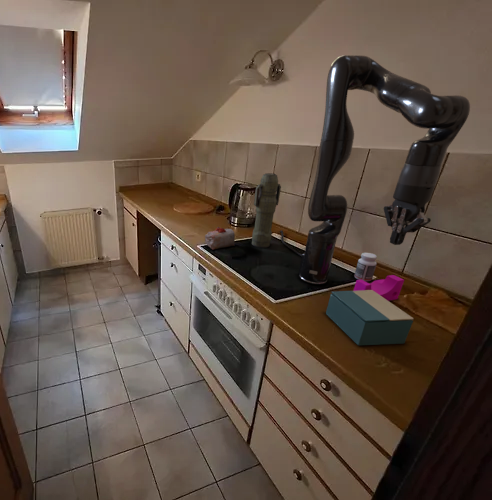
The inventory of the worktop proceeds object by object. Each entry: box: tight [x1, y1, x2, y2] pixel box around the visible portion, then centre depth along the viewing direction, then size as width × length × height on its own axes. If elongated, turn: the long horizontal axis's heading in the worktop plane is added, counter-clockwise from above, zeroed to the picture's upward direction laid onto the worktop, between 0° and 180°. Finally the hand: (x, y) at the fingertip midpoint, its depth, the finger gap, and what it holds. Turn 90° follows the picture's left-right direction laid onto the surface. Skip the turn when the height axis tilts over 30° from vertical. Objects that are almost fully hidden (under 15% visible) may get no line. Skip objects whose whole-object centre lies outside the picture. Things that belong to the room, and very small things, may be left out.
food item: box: [204, 226, 236, 250], centre depth 148 cm, size 14×8×10 cm, turn 109°
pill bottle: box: [353, 252, 378, 282], centre depth 114 cm, size 6×6×10 cm
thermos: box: [251, 172, 282, 249], centre depth 144 cm, size 9×12×35 cm
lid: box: [352, 290, 414, 321], centre depth 86 cm, size 15×6×1 cm, turn 2°
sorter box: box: [325, 290, 414, 346], centre depth 87 cm, size 15×13×8 cm
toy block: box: [352, 274, 405, 302], centre depth 102 cm, size 15×6×8 cm, turn 101°
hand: (395, 243), depth 84 cm, fingers closed
